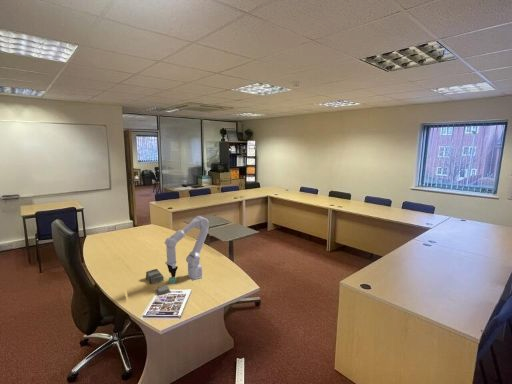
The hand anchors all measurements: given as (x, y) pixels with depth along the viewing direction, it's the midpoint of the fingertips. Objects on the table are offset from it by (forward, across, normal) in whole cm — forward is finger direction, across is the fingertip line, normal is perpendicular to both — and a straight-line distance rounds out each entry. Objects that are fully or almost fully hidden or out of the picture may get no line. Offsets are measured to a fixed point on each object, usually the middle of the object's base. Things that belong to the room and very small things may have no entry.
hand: (172, 274), depth 183 cm
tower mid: (+5, +10, -8) cm, 14 cm away
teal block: (+7, 0, 0) cm, 7 cm away
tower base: (+7, +10, -8) cm, 15 cm away
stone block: (+7, -11, -10) cm, 17 cm away
